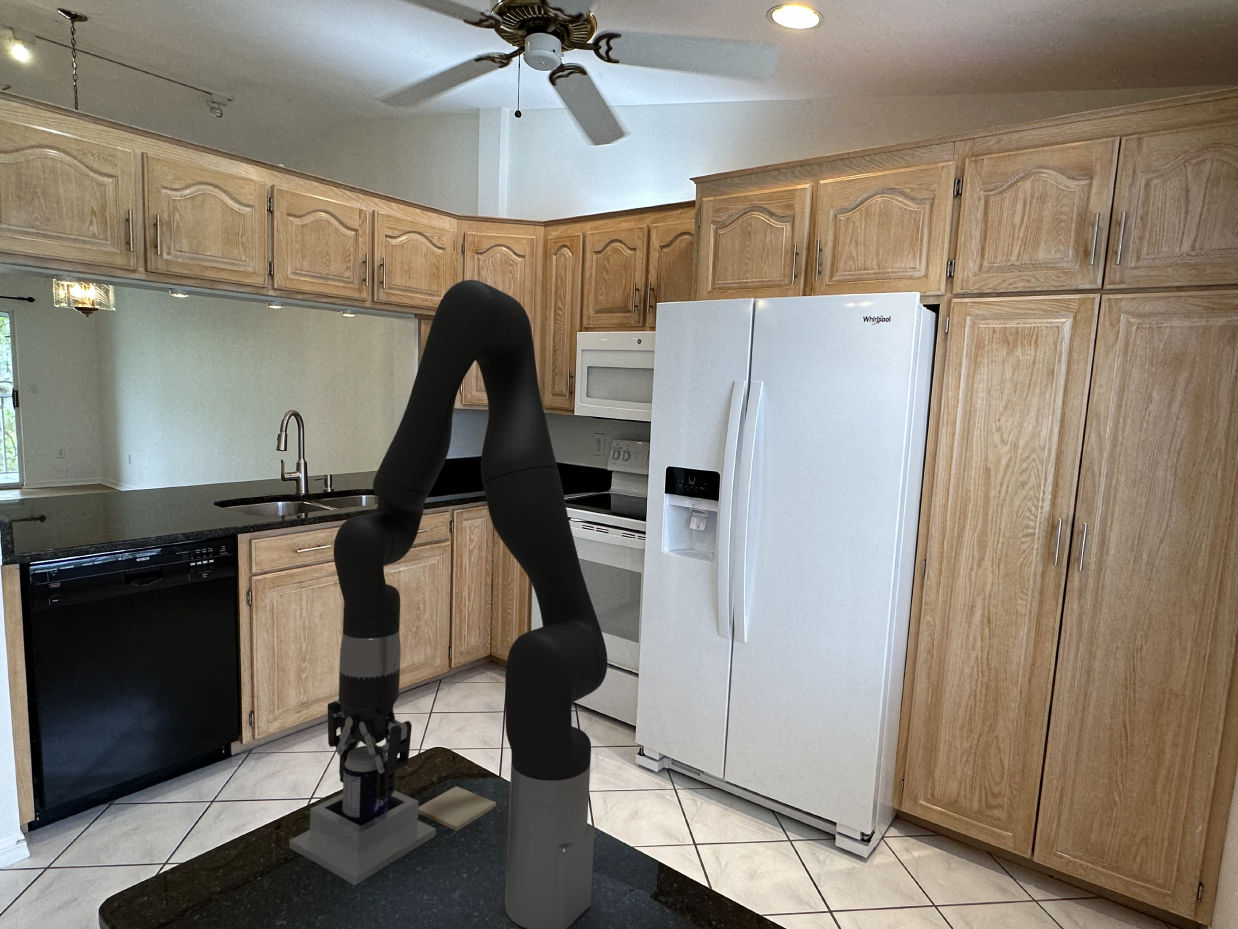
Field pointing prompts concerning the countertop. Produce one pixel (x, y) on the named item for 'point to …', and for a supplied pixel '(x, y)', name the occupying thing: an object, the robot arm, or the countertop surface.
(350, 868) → the sleeve
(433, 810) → the birch pad
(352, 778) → the beverage can
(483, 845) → the countertop surface
